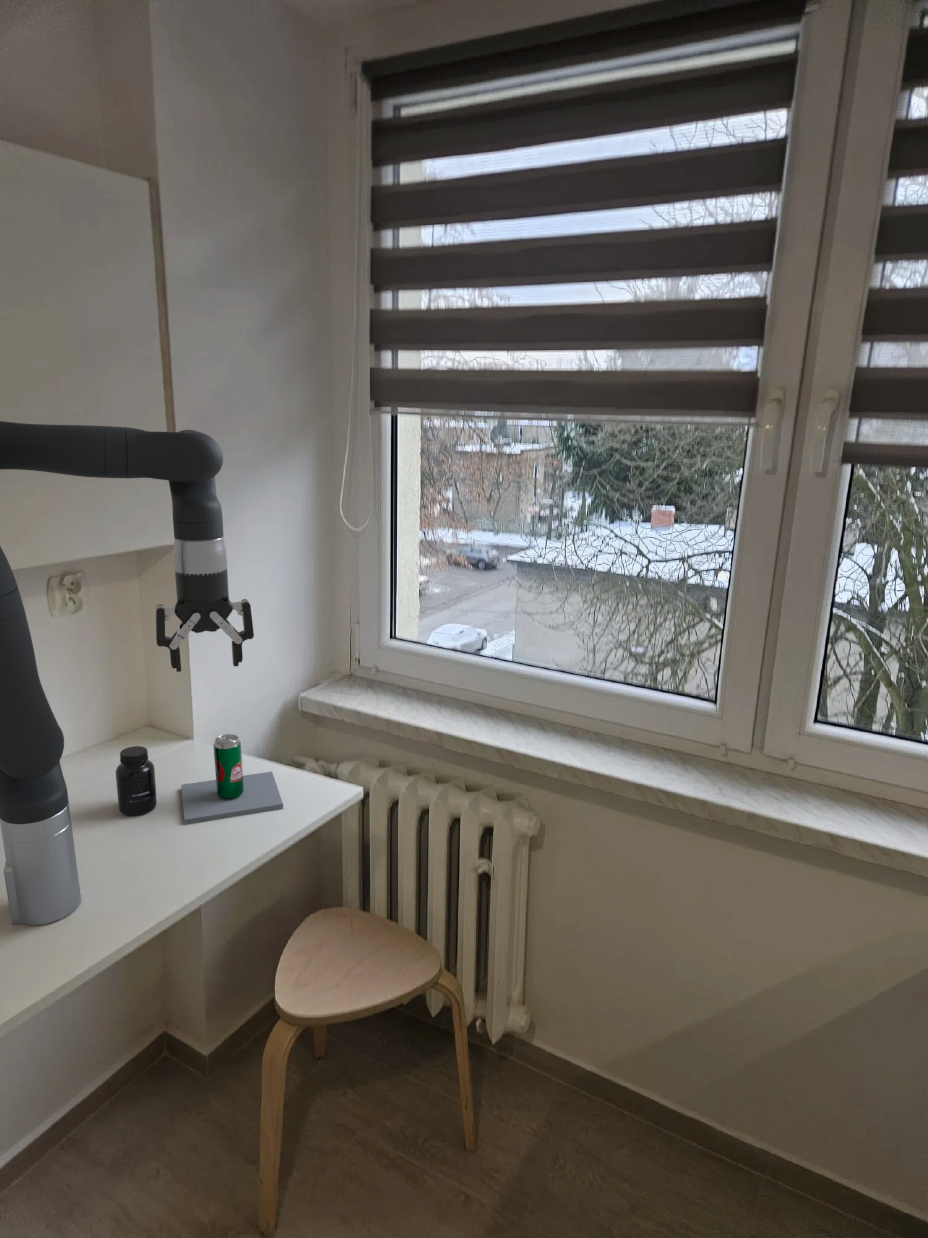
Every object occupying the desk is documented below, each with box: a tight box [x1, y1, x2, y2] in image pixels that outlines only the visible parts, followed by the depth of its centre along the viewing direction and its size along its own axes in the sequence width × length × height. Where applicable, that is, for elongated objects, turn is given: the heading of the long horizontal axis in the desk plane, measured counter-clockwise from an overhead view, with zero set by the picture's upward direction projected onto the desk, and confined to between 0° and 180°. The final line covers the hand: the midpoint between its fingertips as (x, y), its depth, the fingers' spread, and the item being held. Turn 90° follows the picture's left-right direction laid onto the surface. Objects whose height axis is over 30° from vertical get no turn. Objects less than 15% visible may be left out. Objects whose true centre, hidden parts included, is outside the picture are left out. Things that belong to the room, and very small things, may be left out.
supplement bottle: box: [115, 745, 158, 817], centre depth 148 cm, size 7×7×12 cm
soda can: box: [212, 733, 244, 799], centre depth 152 cm, size 5×5×12 cm
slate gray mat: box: [180, 771, 284, 825], centre depth 154 cm, size 18×14×1 cm
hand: (207, 667), depth 122 cm, fingers open, 8 cm apart
